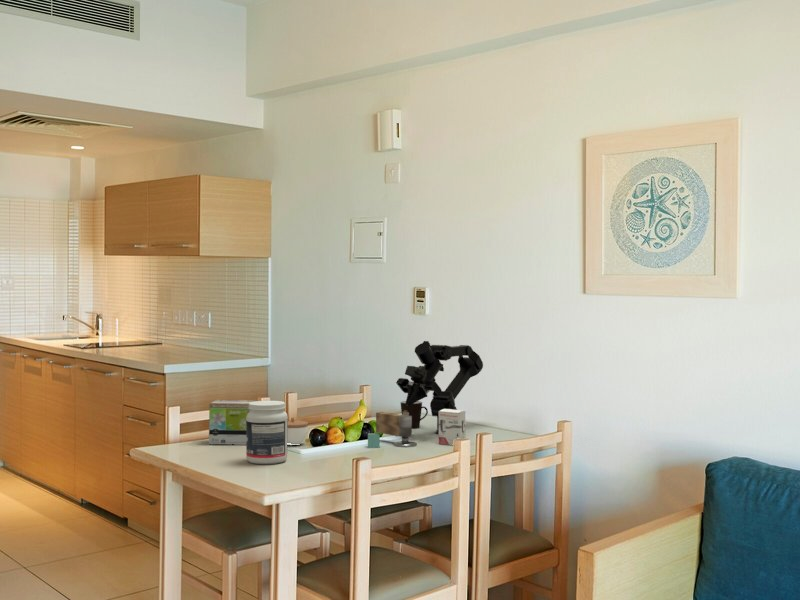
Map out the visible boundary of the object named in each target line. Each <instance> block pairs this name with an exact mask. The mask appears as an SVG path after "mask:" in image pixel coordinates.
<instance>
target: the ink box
mask: <svg viewBox="0 0 800 600" xmlns="http://www.w3.org/2000/svg"><path fill="white" fill-rule="evenodd" d="M457 438H466V410H463V409H457V410H454V409H442V410H440V411H439V434H438V444H439V445H447V446H453V445H452V444H453V440H454V439H457Z"/></svg>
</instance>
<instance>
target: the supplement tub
mask: <svg viewBox="0 0 800 600" xmlns="http://www.w3.org/2000/svg"><path fill="white" fill-rule="evenodd" d="M286 408H287V407H286V402H284V401H281V400H257V401H255V402H250V403H249V408H248V409H249V410H250V412H249V413H248V414H247V417H246V445H245V446H246V451H245V452H246V460H247V461H248V462H250V463H251V464H254V465H256V464H257V465H275V464H281V463H283V462H285V461H286V460H287V459H288V457H289V455H288V446H287V443H288V439H287V438H288V418H289V417H288V413H287V412H286V411H285V409H286Z"/></svg>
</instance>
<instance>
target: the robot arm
mask: <svg viewBox="0 0 800 600" xmlns="http://www.w3.org/2000/svg"><path fill="white" fill-rule="evenodd" d="M414 353H415V355H416V356H417V358H418V359H419V361H420V363H421V364H422V365H419V366H416V365H415V366H414V365H407V366H406V369H405V372H404V374H405V376H408V377H410V380H409V379H408V378H406V377H405V378H403V377H400V378H398V379H397V381H396V382H395V383H396V385H397V386H398V387H399V388H400V390H401V391H402V392H403V393H404V394H407V395H406V400H405V401H406V405H407V406H410V405H412V404H413V403H415V402H417V401H420V400H423V399H425V398H428V393H430V392H432V399H431V401H430V403H429V405H430V407H429V408H430V413H431V415H432V417H436V425H437V427H436V431H435V434H437V435H439V411H440V410H442V409H454V410H458V408H457V406H456V402H455V399H456V398H457V397H458V395H459V394H460V393H461V391H462V389H463V388H464V387H465V386H466V384H467V383H468V381H469V380H470V379H471V378H473V377H475V376H477V375H478V374H479V373H480V372H482V369H483V368H484V362H483V360H482V358H481V357H480V355H479V354H478V353H477V352H475V350H473V348H472V346H470V345H468V344H460V345H455V346H454V345H453V346H450V345H447V344H431V343H430V342H429V340H424V341H423V342H422V343H419V344H418V345H417V346H415V348H414ZM466 356H467V357H466ZM452 357H458V359H457V363H458V364H459V366H458V367H459V371H458V372H457V373H456V375H455V376H454V377H453V379H452V380H451V382H450V383H449V384H448V386H447V387H446V389H444V390H442V388H441V387H440V385H439V384H438V383H437V382H436V378H435V377H436V376H437V374H438V373H439V372H445V371H444V370H445V369H444V364H443V363H442V362H441V361H446V362H447V361H448V360H450V359H452Z"/></svg>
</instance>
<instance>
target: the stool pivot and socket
mask: <svg viewBox="0 0 800 600" xmlns="http://www.w3.org/2000/svg"><path fill="white" fill-rule="evenodd" d="M380 434H381V433H377V432H376V433H373V432H371V433H370V432H368V433H367V448H368V449H369V448H370V449H371V448H373V449H375V448H377V449H379V448H380V444H381V442H380ZM409 439H410V437H401V440H400V441H395V442H393V446H395V447H398V448H412V447H416V446H417V445H418V442H415V441H410V440H409Z"/></svg>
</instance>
